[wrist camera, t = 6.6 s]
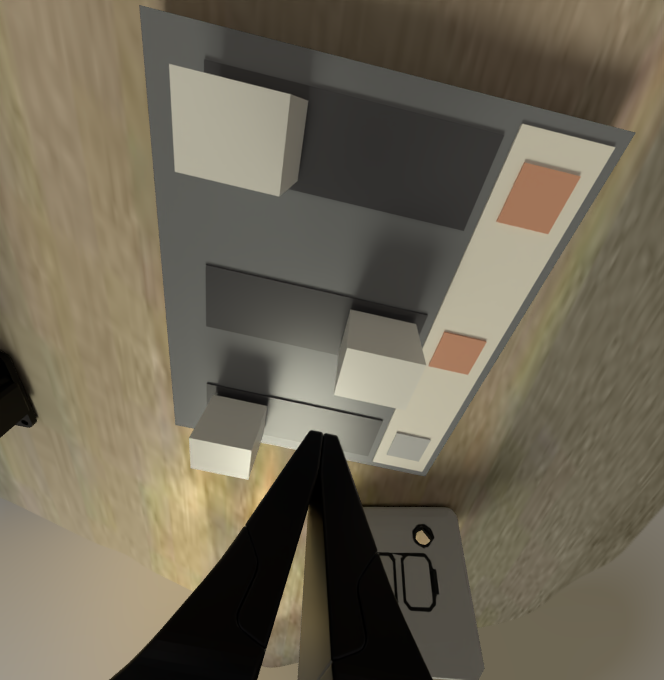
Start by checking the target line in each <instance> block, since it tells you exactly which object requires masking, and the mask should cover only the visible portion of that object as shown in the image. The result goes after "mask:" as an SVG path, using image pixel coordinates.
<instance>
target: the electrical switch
mask: <svg viewBox="0 0 664 680" xmlns="http://www.w3.org/2000/svg"><path fill="white" fill-rule="evenodd" d="M363 509H364V512H365V515H366V518H367V521H368V524H369V527H370V529H371V532H372V535H373V538H374V541H375V544H376V547H377V550H378V551H377V553H379V555H380V558H381V561H382V563H383V566H384V569H385V572H386V574H387V577H388V580H389V582H390V585H391V588H392V590H393V593H394V595H395V597H396V600H397V602H398V604H399V607H400V609H401V611H402V613H403V616H404V618H405V620H406V622H407V625H408V627H409V629H410V631H411V633H412V635H413V638H414V640H415V642H416V644H417V646H418V648H419V650H420V653H421V655H422V657H423V659H424V661H425V663H426V666H427V668H428V670H429V672H430V674H431V676H432V678H435V679H449V680H479V678H480V676H481V674H482V672H483V670H484V663H483V658H482V652H481V647H480V641H479V635H478V630H477V624H476V619H475V613H474V608H473V602H472V597H471V591H470V586H469V580H468V575H467V569H466V564H465V558H464V553H463V547H462V542H461V536H460V531H459V525H458V519H457V516H456V514H455V513H454V512H453V510H452V509H449V508H447V507H363ZM421 530H422V531H423V532H424V533H425V534H426V536H427V537H428V538H429V539H430V542H429V543H428V544H426V545H423V544H420V543H419V542H418V541H417V540H416V539H415V538H416V533H417V532H418V531H421Z"/></svg>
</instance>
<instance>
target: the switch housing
mask: <svg viewBox="0 0 664 680" xmlns="http://www.w3.org/2000/svg"><path fill="white" fill-rule="evenodd" d="M139 7H140V18H141V30H142V41H143V53H144V65H145V76H146V88H147V99H148V111H149V123H150V134H151V146H152V157H153V169H154V181H155V192H156V204H157V216H158V227H159V239H160V250H161V262H162V274H163V285H164V297H165V308H166V320H167V332H168V343H169V355H170V366H171V378H172V390H173V401H174V413H175V424H176V425H179V426H184V427H188V428H193V429H194V428H195V427H196V425H197V423H198V421H199V420H200V418H201V416H202V414H203V412H204V411H205V409H206V407H207V405H208V403H209V402H210V400H211V398H212V396H213V395H217V396H222V397H227V398H231V399H236V400H241V401H246V402H250V403H255V404H260V405H265V406H267V411H266V418H265V425H264V433H263V437H262V440H261V443H266V444H271V445H276V446H280V447H285V448H290V449H295V450H297V448H298V447H299V445H300V444H301V442H302V441H303V439H304V438H305V436H306V435H307V433H308V432H309V431H310V430H315V431H319V432H322V433H323V435H324V433H329V434H334V435H337V436H338V438H339V441H340V443H341V446H342V449H343V452H344V455H345V458H346V460H348V461H353V462H358V463H363V464H367V465H372V466H377V467H382V468H387V469H392V470H397V471H401V472H406V473H411V474H416V475H421V476H426V474H427V473H428V471H429V469H430V468H431V466H432V465H433V463H434V461H435V460H436V458H437V456H438V455H439V453H440V451H441V450H442V448H443V447H444V445H445V443H446V442H447V440H448V438H449V437H450V435H451V433H452V432H453V430H454V429H455V427H456V425H457V424H458V422H459V420H460V419H461V417H462V416H463V414H464V412H465V411H466V409H467V407H468V406H469V404H470V402H471V401H472V399H473V398H474V396H475V394H476V393H477V391H478V389H479V388H480V386H481V384H482V383H483V381H484V380H485V378H486V376H487V375H488V373H489V371H490V370H491V368H492V367H493V365H494V363H495V362H496V360H497V358H498V357H499V355H500V353H501V352H502V350H503V349H504V347H505V345H506V344H507V342H508V340H509V339H510V337H511V336H512V334H513V332H514V331H515V329H516V327H517V326H518V324H519V322H520V321H521V319H522V318H523V316H524V314H525V313H526V311H527V309H528V308H529V306H530V304H531V303H532V301H533V300H534V298H535V296H536V295H537V293H538V291H539V290H540V288H541V287H542V285H543V283H544V282H545V280H546V278H547V277H548V275H549V273H550V272H551V270H552V269H553V267H554V265H555V264H556V262H557V260H558V259H559V257H560V255H561V254H562V252H563V251H564V249H565V247H566V246H567V244H568V242H569V241H570V239H571V238H572V236H573V234H574V233H575V231H576V229H577V228H578V226H579V224H580V223H581V221H582V220H583V218H584V216H585V215H586V213H587V211H588V210H589V208H590V206H591V205H592V203H593V202H594V200H595V198H596V197H597V195H598V193H599V192H600V190H601V189H602V187H603V185H604V184H605V182H606V180H607V179H608V177H609V175H610V174H611V172H612V171H613V169H614V167H615V166H616V164H617V162H618V161H619V159H620V157H621V156H622V154H623V153H624V151H625V149H626V148H627V146H628V144H629V143H630V141H631V140H632V138H633V136H634V135H635V132H631V131H627V130H623V129H619V128H616V127H612V126H608V125H604V124H600V123H596V122H592V121H588V120H584V119H581V118H577V117H573V116H569V115H565V114H561V113H557V112H553V111H549V110H546V109H542V108H538V107H534V106H530V105H526V104H522V103H518V102H514V101H511V100H507V99H503V98H499V97H495V96H491V95H487V94H483V93H479V92H476V91H472V90H468V89H464V88H460V87H456V86H452V85H448V84H444V83H441V82H437V81H433V80H429V79H425V78H421V77H417V76H413V75H409V74H406V73H402V72H398V71H394V70H390V69H386V68H382V67H378V66H374V65H371V64H367V63H363V62H359V61H355V60H351V59H347V58H343V57H339V56H336V55H332V54H328V53H324V52H320V51H316V50H312V49H308V48H304V47H301V46H297V45H293V44H289V43H285V42H281V41H277V40H273V39H269V38H266V37H262V36H258V35H254V34H250V33H246V32H242V31H238V30H234V29H231V28H227V27H223V26H219V25H215V24H211V23H207V22H203V21H199V20H196V19H192V18H188V17H184V16H180V15H176V14H172V13H168V12H164V11H161V10H157V9H153V8H149V7H145V6H141V5H139ZM169 64H172V65H176V66H180V67H184V68H188V69H192V70H196V71H200V72H204V73H208V74H212V75H216V76H220V77H224V78H228V79H232V80H236V81H240V82H244V83H248V84H252V85H256V86H259V87H263V88H267V89H271V90H275V91H279V92H283V93H287V94H291V95H294V96H297V97H299V98H302V99H305V100H308V107H307V114H306V122H305V129H304V137H303V144H302V151H301V159H300V166H299V174H298V181H297V182H296V183H295V184H293V185H292V186H291V187H290V188H289V189H288V190H286V191H285V192H284V193H283V194H282V195H281V196H275V195H271V194H266V193H262V192H258V191H254V190H249V189H245V188H241V187H237V186H233V185H228V184H224V183H220V182H216V181H212V180H207V179H203V178H199V177H195V176H191V175H186V174H182V173H178V172H175V166H174V148H173V129H172V111H171V92H170V74H169ZM350 309H351V310H355V311H360V312H364V313H369V314H373V315H378V316H382V317H386V318H391V319H395V320H400V321H404V322H409V323H413V324H416V326H417V330H418V334H419V338H420V342H421V346H422V350H423V354H424V358H425V362H426V367H425V369H424V371H423V374H422V376H421V378H420V380H419V382H418V384H417V386H416V389H415V391H414V393H413V395H412V397H411V399H410V401H409V403H408V406H407V408H406V410H401V409H396V408H392V407H387V406H382V405H378V404H373V403H368V402H364V401H359V400H354V399H350V398H345V397H340V396H336V395H334V389H335V380H336V372H337V364H338V355H339V350H340V346H341V343H342V339H343V335H344V331H345V328H346V324H347V320H348V317H349V313H350Z"/></svg>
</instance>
